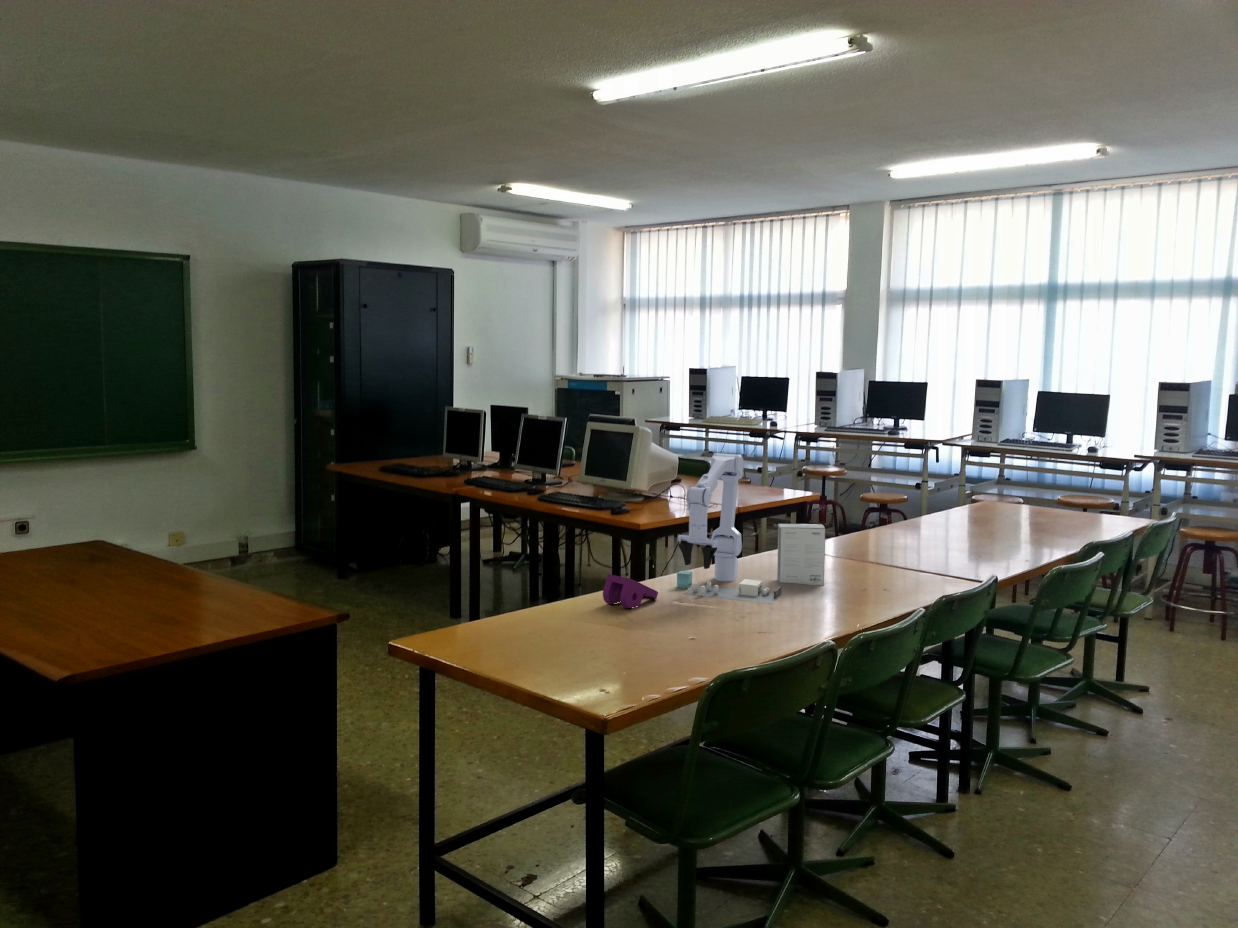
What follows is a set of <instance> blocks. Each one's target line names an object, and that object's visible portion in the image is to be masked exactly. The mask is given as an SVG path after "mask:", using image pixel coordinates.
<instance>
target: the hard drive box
mask: <svg viewBox="0 0 1238 928" xmlns="http://www.w3.org/2000/svg"><path fill="white" fill-rule="evenodd" d="M777 525H778V526H777V569H776V570H777V575H776V576H777V578H776V579H777V580H776V581H777V583H788V584H789V583H790V584H791V583H792V584H798V585H799V584H800V585H809V586H811V585H812V586H824V585H825V558H826V557H825V556H826V554H825V553H826V528H825V527H826V526H824V525H823V523H822V524H821V523H819V524H818V523H817V524H815V523H813V524H812V523H811V524H810V523H778V524H777Z"/></svg>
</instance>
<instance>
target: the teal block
mask: <svg viewBox="0 0 1238 928" xmlns="http://www.w3.org/2000/svg"><path fill="white" fill-rule="evenodd" d="M691 586H692V587H693V571H688V570H680V571H678V572H677V573H676V588H677V587H680V588H679V589H684V588H689V589H691V588H692V587H691Z"/></svg>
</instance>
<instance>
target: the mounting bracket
mask: <svg viewBox="0 0 1238 928" xmlns="http://www.w3.org/2000/svg"><path fill="white" fill-rule="evenodd" d="M602 590H603V591H602V598H603V601H604V602H605V603H606V604H607V603H610V604H609V605H611V604H614V603H617V602H620V601H621V603H620V604H621V605H622V607H623V608H624V607H627V608H626V609H628V608H632V607H636V606H638V607H639V606H640V605H641V603H642V601H643V598H648V597H649V598H648V599H652V598H654V600H657V599H658V595H659V591H657V590H655V589H653V588H651V587H649V586H647V585H645V584H643V583H641V582H639V581H637V580H634V579H632V578H629V577H624V576H619V575H613V574H609V573H608V574H607V575H606V579H605V584H604V585H603V589H602ZM643 596H645V597H643Z"/></svg>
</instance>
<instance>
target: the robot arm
mask: <svg viewBox="0 0 1238 928" xmlns="http://www.w3.org/2000/svg"><path fill="white" fill-rule="evenodd" d="M744 467H745V460H744V457H743V456H742V454H733V453H720V452H715V453H713V454H712V456H711V460H710V468H709V471H708V472H707V473H704V474H702V476H701V477H700V479H699V480H698V481H697V483H696V484H695V485H694V486H692V487H690V488H688V489H687V492H686V496H685V497H686V503H687V510H688V513H689V514H688V515H689V517H688V518H689V520H688V535H686V534H679V535H678V536H677V541H678V542H679V543H678V547H679V549H680V551H681V554H682V557H683V562H684V565H685V566H689V565H692V554H693V553H692V551H693V548H694V547H693V546H694V545H700V546H703V547H701V551H702V555H703V556H702V557H703V569H704V570H706V569H710V567H711V564H712V560H713V558H714V580H716V581H718V582H733V581H736V579H737V578H739V576H738V575H739V574H738V572H739V570H738V569H739V560H738V558H737V557H738V556H739V555H740V554H741V552H742V549H743V541H742V533H741V532H739V530H737V529H736V527H735V520H736V506H737V497H738V495H737V494H738V486H739V485H738V484H739V480H741V479H743V475H744ZM719 478H721V480H722V481H723V482H722V483H723V485H722V486H723V487H722V495H721V496H722V497H721V508H720V520H719V527H717V528H716V529H715V530H713V531H712V534H711V538H709V537H708V506H709V505H710V504H711V501H712V496H713V492H714V491H715V489H716V488H717V486H718V479H719Z"/></svg>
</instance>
